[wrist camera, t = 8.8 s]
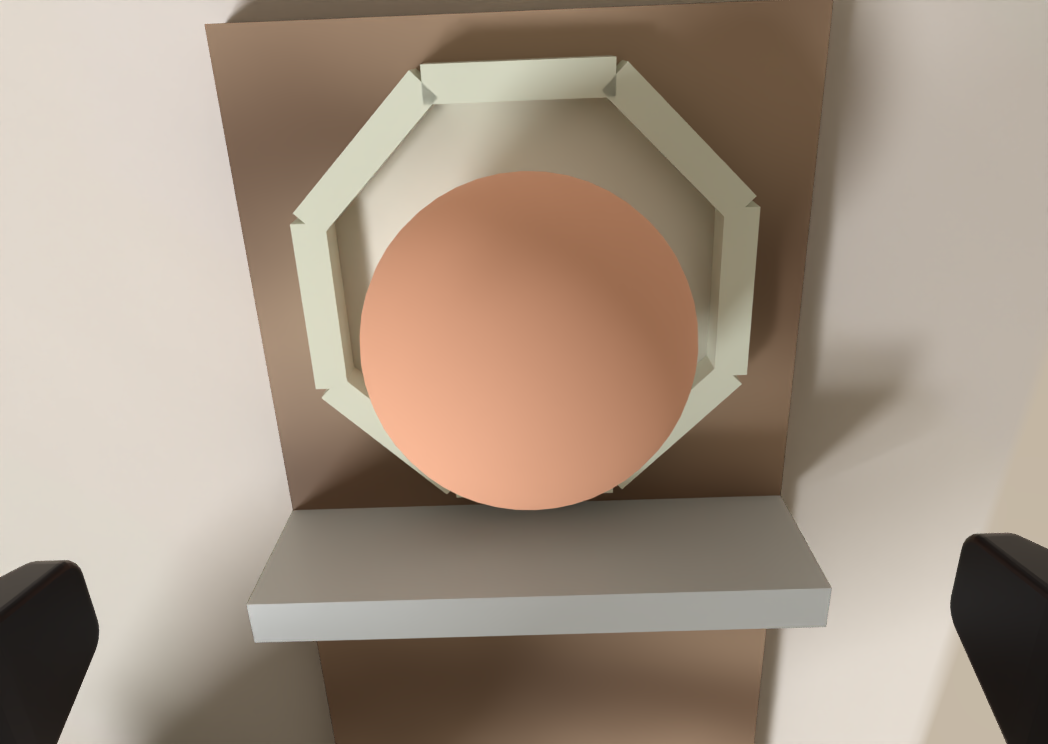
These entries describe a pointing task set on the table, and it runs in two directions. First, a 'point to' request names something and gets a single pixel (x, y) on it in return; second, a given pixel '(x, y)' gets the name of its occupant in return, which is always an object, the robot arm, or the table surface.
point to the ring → (525, 145)
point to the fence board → (549, 534)
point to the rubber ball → (528, 340)
